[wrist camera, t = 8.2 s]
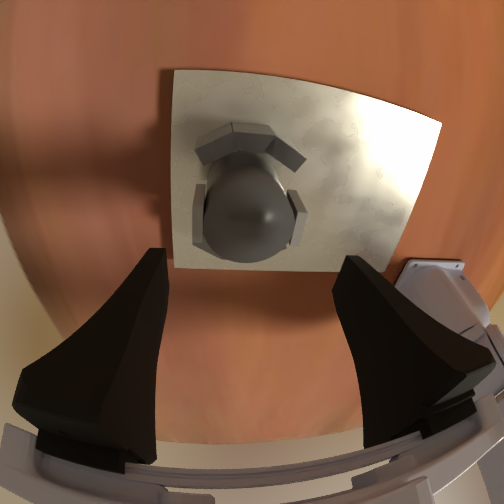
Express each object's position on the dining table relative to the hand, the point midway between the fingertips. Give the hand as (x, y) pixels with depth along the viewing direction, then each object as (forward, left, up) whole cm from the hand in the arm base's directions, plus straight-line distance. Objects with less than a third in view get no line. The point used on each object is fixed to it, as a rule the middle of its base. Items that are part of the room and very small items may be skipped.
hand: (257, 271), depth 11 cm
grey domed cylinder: (0, 0, -8) cm, 8 cm away
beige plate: (-5, 0, -9) cm, 10 cm away
